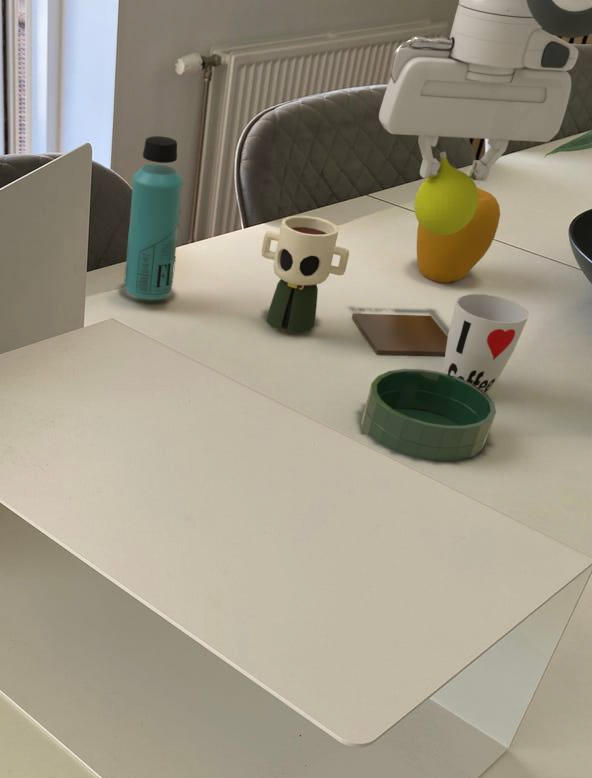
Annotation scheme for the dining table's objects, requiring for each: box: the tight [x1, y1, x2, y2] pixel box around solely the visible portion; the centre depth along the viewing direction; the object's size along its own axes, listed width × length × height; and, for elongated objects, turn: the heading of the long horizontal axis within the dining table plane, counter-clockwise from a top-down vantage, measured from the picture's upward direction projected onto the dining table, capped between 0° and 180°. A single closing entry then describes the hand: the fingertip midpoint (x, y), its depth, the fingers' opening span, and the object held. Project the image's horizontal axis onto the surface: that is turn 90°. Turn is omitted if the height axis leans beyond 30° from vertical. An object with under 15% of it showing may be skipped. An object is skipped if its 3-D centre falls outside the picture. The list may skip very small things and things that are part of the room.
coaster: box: [351, 313, 448, 357], centre depth 130 cm, size 11×11×1 cm
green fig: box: [414, 140, 478, 235], centre depth 115 cm, size 7×7×10 cm
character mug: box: [261, 215, 350, 334], centre depth 125 cm, size 11×7×13 cm, turn 65°
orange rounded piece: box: [416, 187, 501, 284], centre depth 143 cm, size 11×11×13 cm
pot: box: [360, 368, 497, 462], centre depth 108 cm, size 13×13×5 cm
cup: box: [443, 293, 530, 394], centre depth 117 cm, size 8×8×10 cm
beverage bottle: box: [123, 135, 184, 301], centre depth 126 cm, size 6×7×20 cm
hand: (452, 178), depth 115 cm, fingers closed on green fig, 5 cm apart
